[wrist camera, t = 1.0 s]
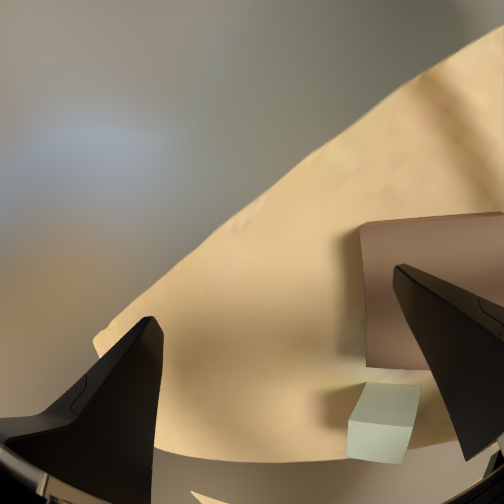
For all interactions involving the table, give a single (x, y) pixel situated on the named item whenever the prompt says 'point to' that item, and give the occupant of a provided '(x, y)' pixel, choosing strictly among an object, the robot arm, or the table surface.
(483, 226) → the walnut block
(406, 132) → the table surface
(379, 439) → the sage cube
